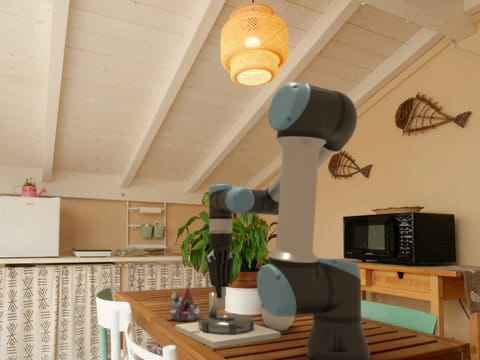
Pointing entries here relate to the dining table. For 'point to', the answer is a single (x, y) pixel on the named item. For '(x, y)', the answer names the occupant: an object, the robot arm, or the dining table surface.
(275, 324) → the lidded jar
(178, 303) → the grey maroon spiky lump
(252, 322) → the notched disc with hub
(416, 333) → the dining table surface
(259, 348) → the dining table surface
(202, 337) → the base board
